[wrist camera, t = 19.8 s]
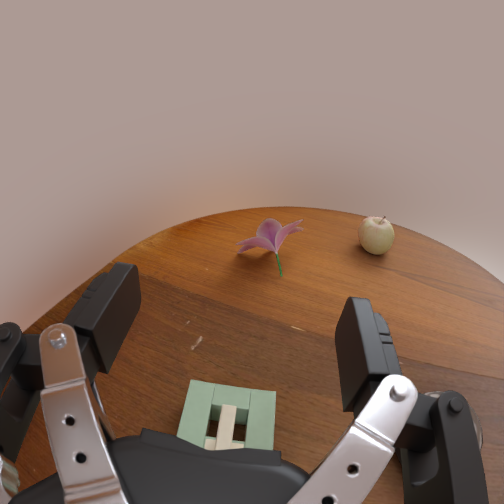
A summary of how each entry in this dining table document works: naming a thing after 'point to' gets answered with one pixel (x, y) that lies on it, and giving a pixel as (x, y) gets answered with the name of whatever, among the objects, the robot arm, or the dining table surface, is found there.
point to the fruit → (376, 235)
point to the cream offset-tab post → (224, 431)
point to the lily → (270, 236)
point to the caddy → (248, 413)
